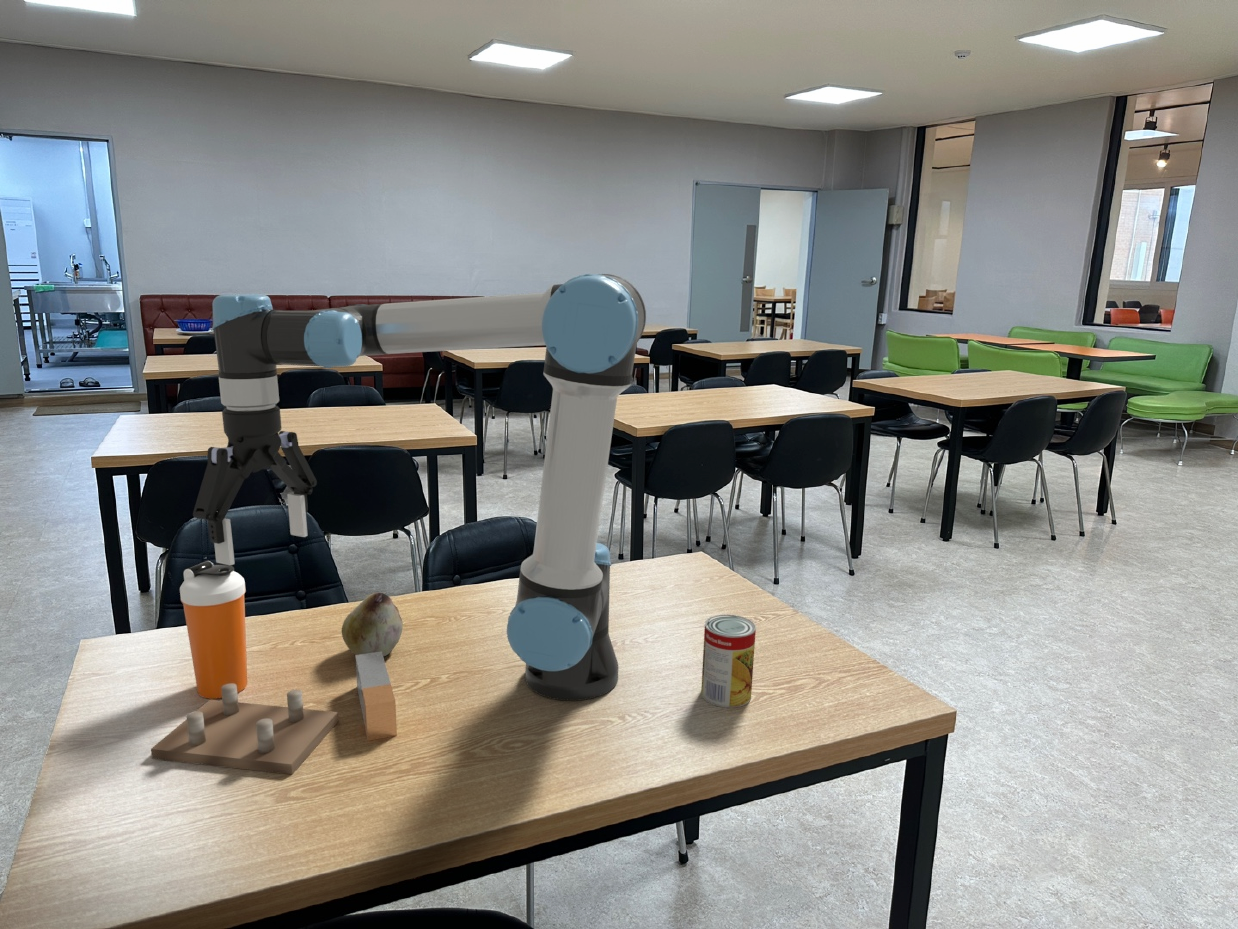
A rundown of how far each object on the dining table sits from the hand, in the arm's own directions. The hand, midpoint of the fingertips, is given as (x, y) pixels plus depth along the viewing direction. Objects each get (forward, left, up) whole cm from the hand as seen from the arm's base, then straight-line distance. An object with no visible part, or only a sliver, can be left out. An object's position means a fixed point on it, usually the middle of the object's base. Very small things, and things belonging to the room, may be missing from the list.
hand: (264, 548), depth 122 cm
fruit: (-9, -16, -24) cm, 30 cm away
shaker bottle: (+9, -1, -24) cm, 26 cm away
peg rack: (-3, +12, -24) cm, 27 cm away
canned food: (-69, -13, -24) cm, 74 cm away
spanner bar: (-17, +1, -24) cm, 29 cm away
